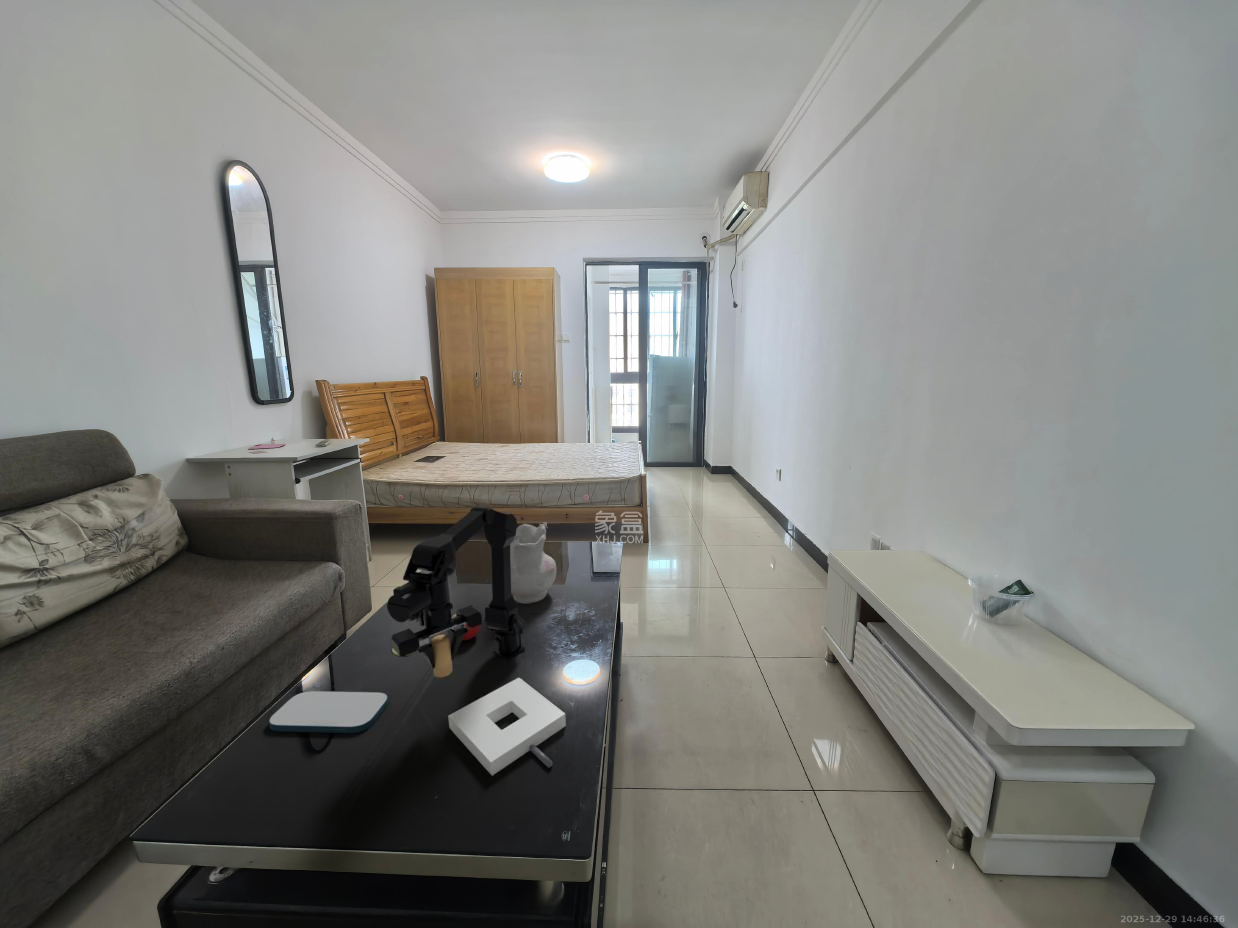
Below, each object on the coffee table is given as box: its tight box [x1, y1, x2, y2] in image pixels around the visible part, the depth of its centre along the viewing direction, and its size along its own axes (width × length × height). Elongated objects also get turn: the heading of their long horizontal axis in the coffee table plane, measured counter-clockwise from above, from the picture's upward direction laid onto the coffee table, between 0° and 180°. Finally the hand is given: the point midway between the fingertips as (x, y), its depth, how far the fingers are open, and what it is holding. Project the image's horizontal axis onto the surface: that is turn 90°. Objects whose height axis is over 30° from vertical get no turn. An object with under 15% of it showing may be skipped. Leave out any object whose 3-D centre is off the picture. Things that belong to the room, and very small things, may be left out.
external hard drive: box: [268, 690, 389, 734], centre depth 108 cm, size 24×12×2 cm, turn 87°
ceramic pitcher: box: [510, 523, 557, 605], centre depth 160 cm, size 22×20×25 cm
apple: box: [451, 613, 481, 641], centre depth 138 cm, size 8×8×10 cm
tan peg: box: [429, 634, 453, 678], centre depth 106 cm, size 4×4×8 cm
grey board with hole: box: [447, 677, 567, 776], centre depth 100 cm, size 18×24×3 cm
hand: (442, 663), depth 106 cm, fingers closed on tan peg, 4 cm apart
